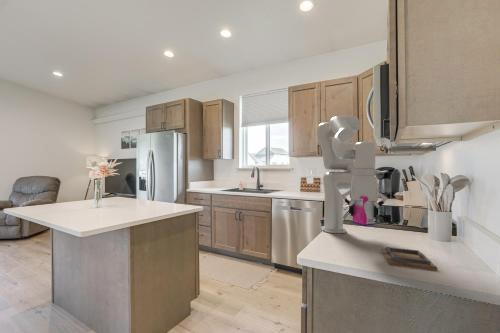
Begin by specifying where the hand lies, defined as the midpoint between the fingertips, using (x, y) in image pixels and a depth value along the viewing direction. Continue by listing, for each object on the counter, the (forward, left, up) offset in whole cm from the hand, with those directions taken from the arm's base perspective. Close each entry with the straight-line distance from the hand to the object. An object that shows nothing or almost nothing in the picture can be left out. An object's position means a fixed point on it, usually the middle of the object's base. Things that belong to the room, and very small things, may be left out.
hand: (363, 216), depth 96 cm
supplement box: (0, 0, -3) cm, 3 cm away
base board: (+4, +14, -14) cm, 21 cm away
